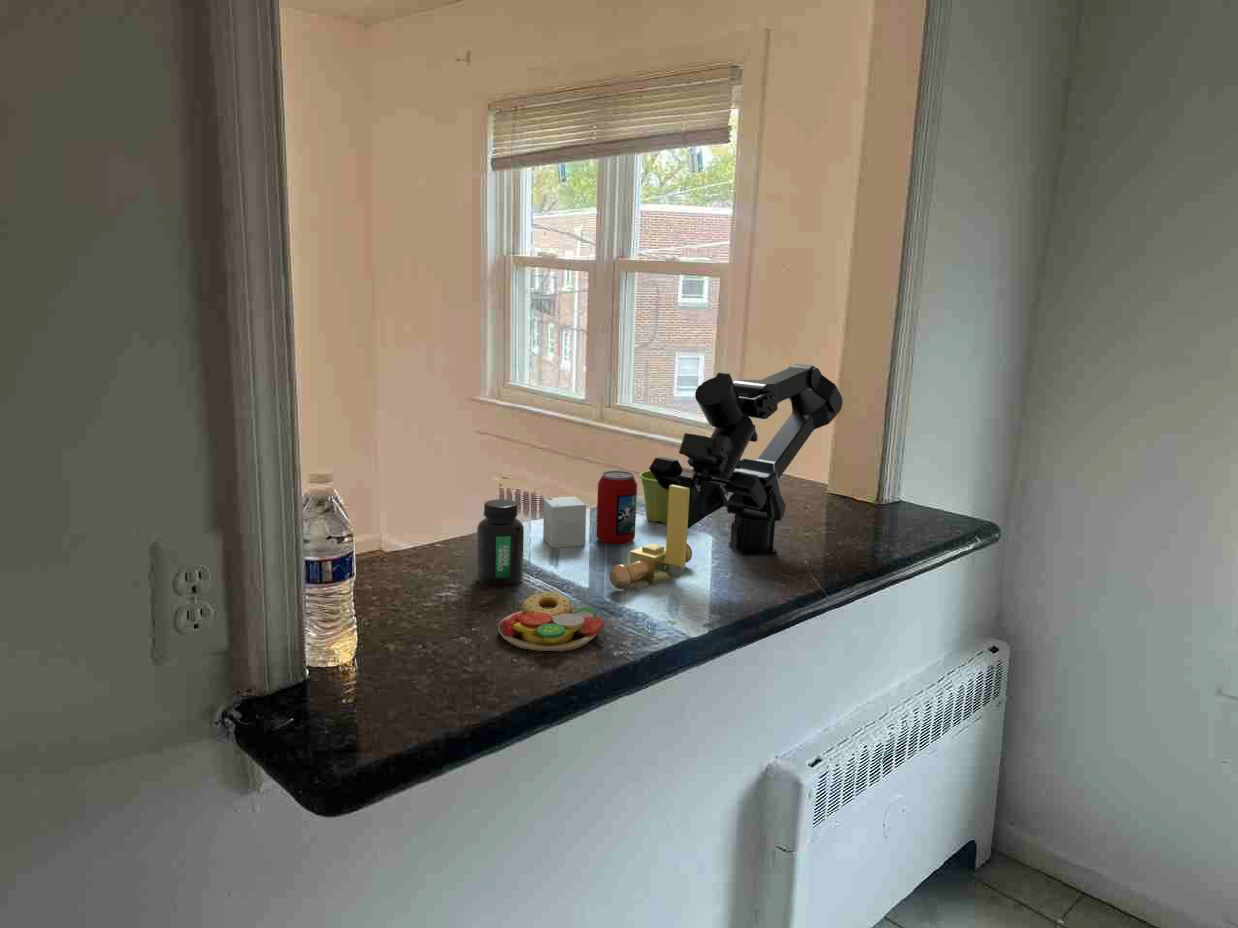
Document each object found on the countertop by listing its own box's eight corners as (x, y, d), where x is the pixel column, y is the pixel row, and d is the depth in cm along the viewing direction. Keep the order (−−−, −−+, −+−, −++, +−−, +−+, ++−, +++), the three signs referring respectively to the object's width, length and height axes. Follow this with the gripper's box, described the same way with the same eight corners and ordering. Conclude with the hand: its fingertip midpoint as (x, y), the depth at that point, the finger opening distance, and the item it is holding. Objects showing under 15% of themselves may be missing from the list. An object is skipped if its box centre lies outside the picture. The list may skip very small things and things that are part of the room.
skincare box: (585, 546, 153) (587, 504, 151) (551, 549, 151) (552, 506, 149) (575, 536, 159) (576, 495, 157) (542, 538, 156) (542, 497, 155)
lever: (670, 573, 138) (675, 483, 135) (686, 577, 136) (692, 487, 133) (662, 576, 136) (666, 486, 133) (678, 581, 134) (683, 489, 131)
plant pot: (654, 528, 165) (656, 482, 163) (628, 515, 173) (630, 471, 171) (696, 523, 170) (699, 478, 168) (669, 510, 178) (671, 468, 176)
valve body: (672, 561, 147) (674, 531, 146) (699, 568, 144) (701, 538, 143) (603, 588, 133) (604, 556, 132) (632, 597, 130) (633, 564, 129)
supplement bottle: (511, 590, 131) (512, 511, 128) (469, 584, 133) (469, 506, 130) (529, 576, 137) (531, 500, 134) (488, 570, 139) (489, 495, 136)
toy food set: (544, 608, 125) (545, 586, 125) (622, 632, 118) (623, 609, 117) (477, 637, 114) (477, 613, 114) (557, 666, 107) (558, 641, 106)
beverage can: (630, 548, 153) (633, 480, 150) (592, 544, 154) (594, 476, 151) (637, 537, 159) (640, 471, 157) (600, 534, 160) (603, 468, 158)
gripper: (659, 406, 142) (612, 485, 135) (763, 422, 131) (718, 508, 124) (684, 449, 149) (641, 525, 143) (784, 467, 138) (743, 551, 132)
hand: (683, 526), depth 135 cm, fingers closed
